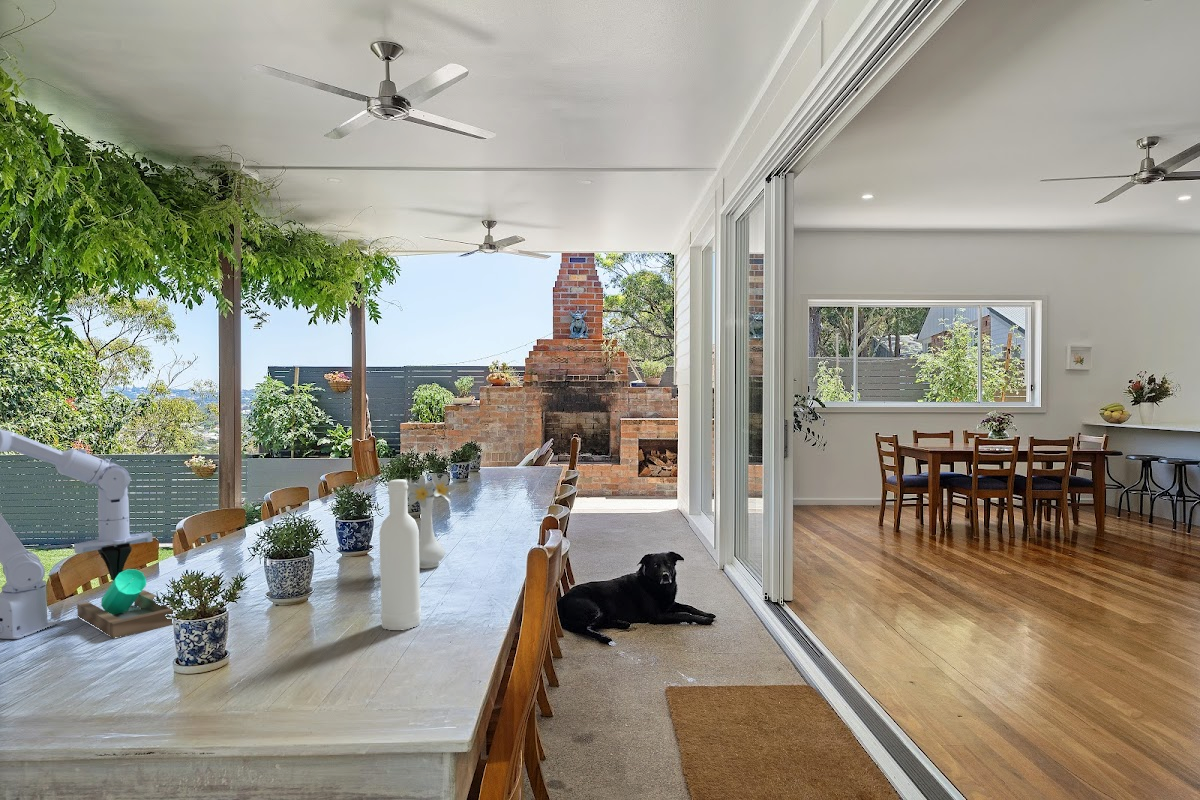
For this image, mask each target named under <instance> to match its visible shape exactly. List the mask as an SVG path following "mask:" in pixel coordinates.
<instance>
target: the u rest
mask: <svg viewBox="0 0 1200 800" xmlns="http://www.w3.org/2000/svg"><path fill="white" fill-rule="evenodd" d="M156 596H157V595H155V594H154V593H151V592H149V591H147V590H145V589H143V590H142V592H141V593H140V594H139V596H138V597H137V598H136V600H135V601H134V603H133V604H134V606H135V605H136V606H135V607H137V606H138V609H132V610H128V611H126V612H124V613H119V614H110V613H108V612H106V611H105V610H104V609H103V608H100V607H99V606H97V605H94V604H93V603H92V602H89V601H85V602H81V603H76V605H77V608H76V609H77V617H78V616H79V617H80V618H82V619H84V620H85V621H87V622H89V623H90V624H92V625H94V626H95V627H97V628H99V629H100V630H102V631H103V632H105V633H106V634H108V635H110V636H111V637H113V638H115V637H120V636H124V637H126V636H125V635H128V636H132V635H135V634H134V633H136V634H140V633H143V632H148V631H152V630H156V629H160V628H164V627H167V626H172V625H173V624H172V619H167V618H166V617H165V615H166V614H173V610H172V609H170V608H168V607H167V606H160V605H158V604H156V603H155V602H154V601H153V598H154V597H156ZM139 607H140V608H139ZM103 632H102V633H103ZM106 634H105V635H106ZM131 634H132V635H131ZM108 635H107V636H108ZM111 637H110V638H111ZM113 638H112V639H113ZM120 638H121V637H120Z"/></svg>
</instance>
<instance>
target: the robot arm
mask: <svg viewBox="0 0 1200 800" xmlns="http://www.w3.org/2000/svg"><path fill="white" fill-rule="evenodd" d="M4 452H16V453H18V454H22V455H24V456H27V457H30V458H34V459H37V460H39V461H43V462H46V463H49V464H51V465H54V466H55V468H56V470H57V471H56V472H57V473H58V474H60V475H64V476H66V477H69V478H72V479H74V480H77V481H79V482H83V483H85V484H88V485H93V484H95V485H96V487H98V488H97V495H98V498H97V524H98V525H97V526H98V538H97V539H92V540H87V541H83V542H78V543H73V544H74V545H73V546H74V553H75V554H83V553H86V552H87V553H88V552H92V551H97V552H98V554H99V555H100V557H101V559H102V560H103V562H104V563H105V566H106V567H107V571H108V573H109V577H110V580H111V581H112V582H113V581H114V579H115V578H116V577H117V575H118V574H119V573H120V572H122V571H124V568H125V565H126V562H127V560H128V557H129V556H130V554H131V553H132V549H133V548H132V546H131V545H135V544H142V543H151V542H153V541H154V540H153V533H152V532H150V531H148V532H140V533H131V534H130V532H131V531H130V530H131V529H130V506H129V505H130V502H129V496H128V492H129V489H128V486H129V485H130V483H131V480H132V477H131V476H130V474H129V471H128V470H127V469H126V468H125V467H124V466H121V465H119V464H116V462H111V459H109V458H104V459H103V458H99V457H97V456H94V455H92V454H89V453H87V452H88V450H86V449H83V448H79V449H77V448H70V449H66V450H64V451H63V450H60V449H57V448H55V447H52V446H51V445H50V446H49V445H47V444H44V443H42V442H39V441H36V440H34V439H32V438H29V437H27V436H25V435H21V434H19V433H16V432H14V431H11V430H7V429H6V430H5V429H1V428H0V453H4ZM0 564H1V566H2V573H3V575H4V576H5V580H6V583H5V584H4V585H3V586H1V592H0V639H5V640H7V639H8V640H19V639H21V638H25V637H27V636H29V635H32V634H36V633H38V632H40V630H41V631H43V630H46V629H48V628H47V627H49V628H51V627H53V626H52V625H54V626H56V625H55V624H57V625H58V624H59V621H55V620H48V602H47V601H48V599H47V598H48V597H47V581H46V580H43V579H44V577H45V575H46V570H45V569H46V568H45V566H44V564H43V563H42V562H41V559H40V558H39V556H38V555H36V554H35V553H33V552H31V551H29V550H28V549H27V548H26V547H25V546H24V545H23V543H22V542H21V540H20V539H19V538H18V537H17V535H16V534H15V532H14V531H13V529H12V528H11V527H10V525H9V524H8V522H7V521H6V519H5V518H4V516H3V515H2V513H1V512H0ZM50 626H51V627H50ZM45 628H46V629H45ZM42 629H43V630H42ZM37 631H38V632H37ZM24 636H25V637H24Z"/></svg>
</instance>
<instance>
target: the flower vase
mask: <svg viewBox="0 0 1200 800" xmlns="http://www.w3.org/2000/svg"><path fill="white" fill-rule="evenodd" d="M431 478H432V479H431V480H425V475H424V474H422V475H420V477H419V479H418V482H413V483H412V477H410V478H409V480H408V478H407V477H404V480H406V481H407V485H408V489H407V499H408V505H414V504H415V503H417V502H418V503H419V508H420V531H419V569H420V570H421V569H423V570H425V569H426V570H428V569H433V568H437V567H440V566H439V565H440V562H441V561H442V560H443V559H444V557H445V556H446V555H445V554H446V550H445V548H444V547H443V545H442V544H441V543H440V542H439V541H438V540H437V538H436V535H435V533H434V526H433V504H434V500H435V497H437V498H438V497H440V496H441V497H442V498H444V499H445V500H446V501H447V502H450V501H451V500H452V497H451V493H452V494H453V492H456V491H457V489H458V488H457V486H456V485H453V484H448V483H449V476H448V474H444V475H442V476H441V478H440V479H439V477H438V476H437V475H436V474H435V473H432V474H431ZM387 494H388V495H389V490H388V489H387Z"/></svg>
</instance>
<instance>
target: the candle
mask: <svg viewBox="0 0 1200 800" xmlns="http://www.w3.org/2000/svg"><path fill="white" fill-rule="evenodd" d="M146 585H147V579H146V576H145V574H144V572H142V571H140V570H138V569H137V568H129V569H125V570H124V569H123V571H122V572H120V573H119V574H118V575H117V577H116V578H115V579H114V581H113V580H112V582H111V584H110V585H109V587H108V588H107V590H106V592H105V593H104V594H103V596H102V597H101V601H100V602H101V604H100V605H101V607H102V610H104V611H106V612H108V613H110V614H112V615H115V614H119V613H124V612H128V611H129V609H130V608H131V607H132V605H133V604H134V601H135V600H136V598H137V597H138V596H139V594H140V593H141V592H142V590H145V588H146Z"/></svg>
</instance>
